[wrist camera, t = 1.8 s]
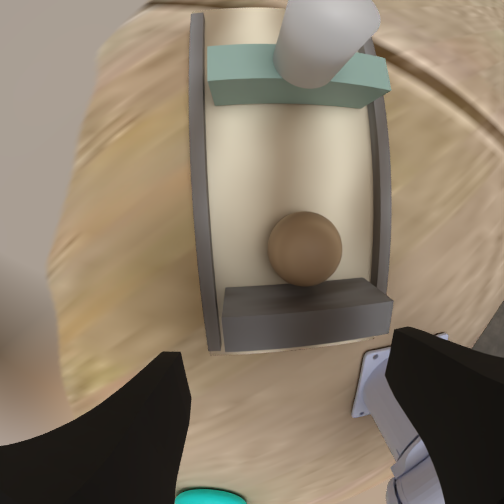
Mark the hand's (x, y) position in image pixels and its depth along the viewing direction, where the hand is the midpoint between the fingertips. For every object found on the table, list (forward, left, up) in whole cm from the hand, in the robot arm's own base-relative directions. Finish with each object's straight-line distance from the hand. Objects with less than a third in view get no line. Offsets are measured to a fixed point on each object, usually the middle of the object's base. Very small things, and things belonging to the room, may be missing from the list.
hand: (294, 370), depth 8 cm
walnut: (-2, -2, -7) cm, 8 cm away
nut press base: (-2, -7, -10) cm, 13 cm away
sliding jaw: (-2, -12, -9) cm, 15 cm away
